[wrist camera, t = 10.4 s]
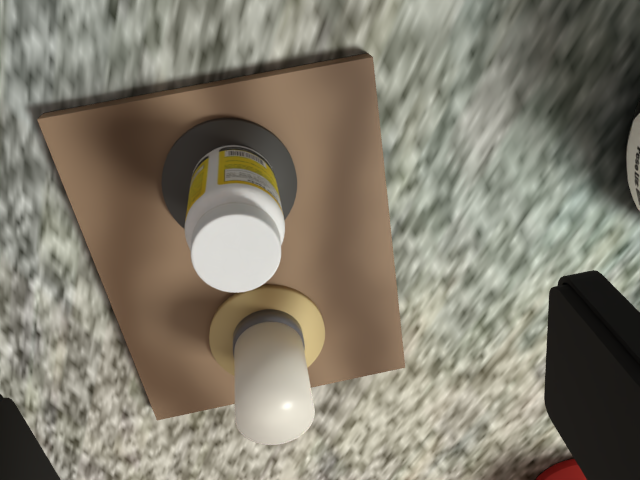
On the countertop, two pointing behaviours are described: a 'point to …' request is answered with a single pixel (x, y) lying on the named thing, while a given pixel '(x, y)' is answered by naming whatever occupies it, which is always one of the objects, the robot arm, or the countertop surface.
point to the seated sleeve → (271, 378)
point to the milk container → (634, 157)
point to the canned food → (563, 472)
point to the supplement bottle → (234, 219)
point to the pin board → (297, 205)
